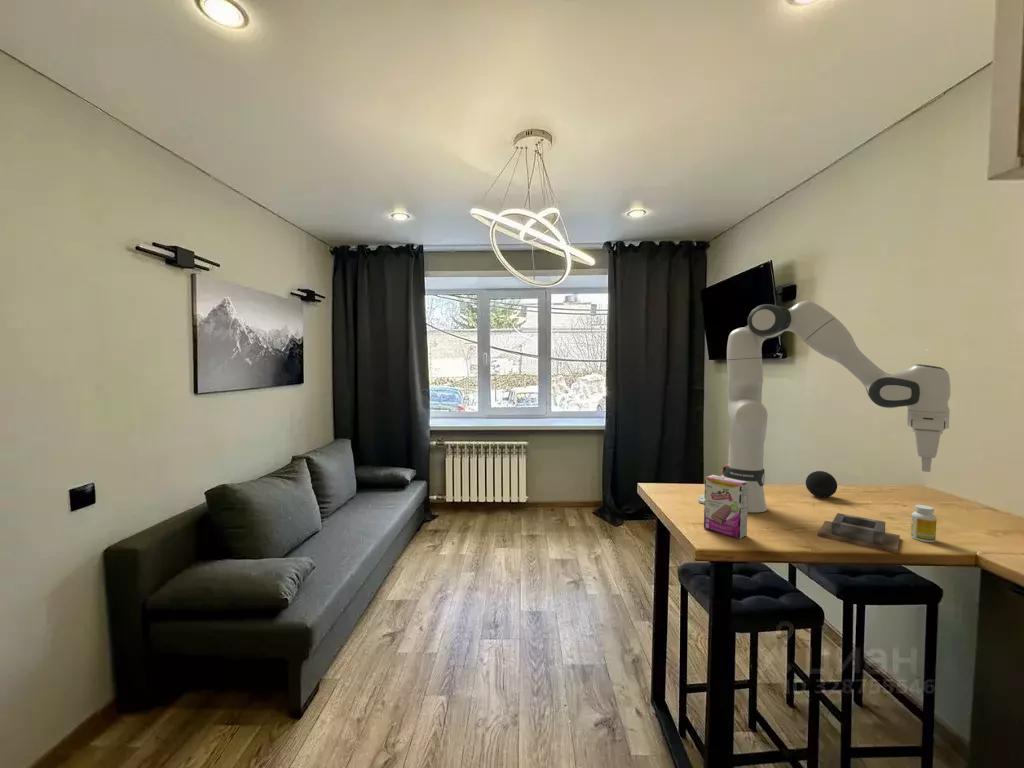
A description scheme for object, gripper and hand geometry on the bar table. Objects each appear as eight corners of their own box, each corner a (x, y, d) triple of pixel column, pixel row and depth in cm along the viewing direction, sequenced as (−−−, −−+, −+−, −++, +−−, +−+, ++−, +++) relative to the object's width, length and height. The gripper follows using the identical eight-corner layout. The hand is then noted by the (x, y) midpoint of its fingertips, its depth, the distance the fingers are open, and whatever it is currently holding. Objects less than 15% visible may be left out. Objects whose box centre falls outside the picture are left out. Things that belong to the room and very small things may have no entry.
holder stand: (817, 535, 132) (817, 520, 132) (825, 523, 143) (825, 509, 142) (897, 553, 120) (898, 536, 120) (899, 538, 130) (900, 523, 130)
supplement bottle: (905, 536, 133) (906, 504, 132) (922, 535, 133) (923, 503, 132) (923, 543, 127) (924, 509, 127) (940, 542, 127) (942, 509, 127)
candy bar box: (702, 529, 138) (703, 476, 137) (710, 525, 141) (712, 474, 140) (740, 540, 129) (741, 484, 128) (747, 536, 132) (749, 481, 131)
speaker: (843, 501, 166) (844, 474, 166) (815, 500, 167) (816, 474, 166) (825, 493, 176) (826, 468, 176) (799, 493, 177) (800, 468, 176)
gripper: (913, 417, 138) (912, 461, 139) (912, 423, 123) (910, 472, 124) (941, 418, 134) (940, 464, 135) (944, 425, 119) (942, 476, 120)
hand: (926, 468), depth 129 cm, fingers open, 8 cm apart
